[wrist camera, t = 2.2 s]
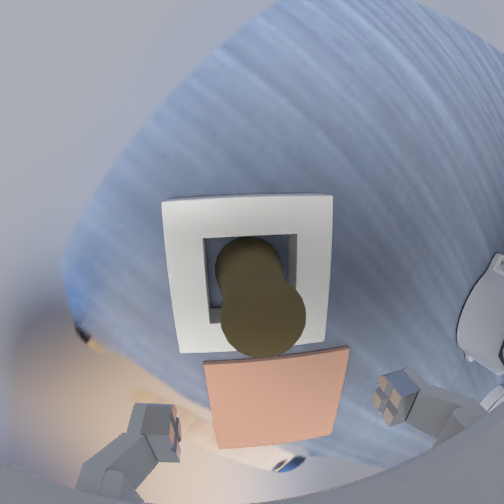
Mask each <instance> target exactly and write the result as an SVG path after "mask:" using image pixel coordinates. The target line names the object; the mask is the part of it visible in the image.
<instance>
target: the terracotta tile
mask: <svg viewBox="0 0 504 504" xmlns="http://www.w3.org/2000/svg"><path fill="white" fill-rule="evenodd" d="M349 352H350V348H349V347H348V346H345V347H339V348H333V349H327V350H321V351H314V352H307V353H300V354H292V355H283V356H275V357H271V358H253V359H241V360H225V361H205V362H204V370H205V376H206V383H207V389H208V395H209V400H210V406H211V412H212V417H213V422H214V428H215V433H216V438H217V443H218V448H219V449H231V448H245V447H256V446H265V445H274V444H281V443H288V442H294V441H300V440H305V439H311V438H316V437H320V436H325V435H330V434H331V432H332V428H333V424H334V421H335V417H336V413H337V409H338V405H339V400H340V396H341V392H342V387H343V383H344V378H345V373H346V368H347V363H348V357H349Z"/></svg>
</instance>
